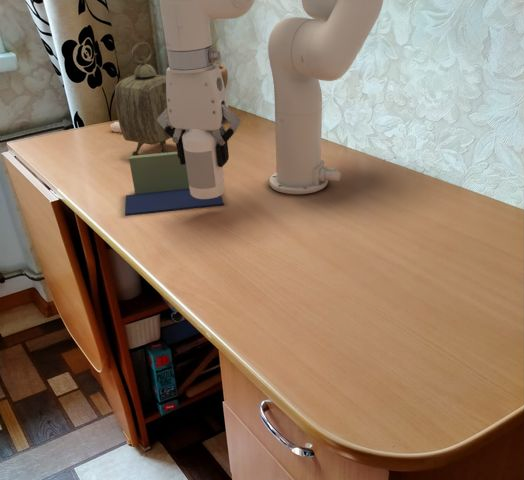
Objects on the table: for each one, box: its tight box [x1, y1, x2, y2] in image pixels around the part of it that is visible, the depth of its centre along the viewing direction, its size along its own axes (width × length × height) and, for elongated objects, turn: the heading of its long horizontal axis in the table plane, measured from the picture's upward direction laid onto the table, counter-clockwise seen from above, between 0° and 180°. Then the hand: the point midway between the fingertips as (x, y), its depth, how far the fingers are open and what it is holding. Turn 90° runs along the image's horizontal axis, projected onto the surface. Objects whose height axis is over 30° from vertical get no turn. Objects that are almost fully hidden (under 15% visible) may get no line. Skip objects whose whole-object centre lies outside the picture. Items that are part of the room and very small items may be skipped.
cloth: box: [124, 189, 224, 216], centre depth 120 cm, size 10×20×1 cm, turn 100°
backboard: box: [128, 151, 190, 194], centre depth 123 cm, size 2×16×8 cm, turn 100°
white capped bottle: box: [182, 129, 226, 199], centre depth 105 cm, size 7×7×18 cm
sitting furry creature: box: [109, 121, 122, 134], centre depth 158 cm, size 10×9×12 cm
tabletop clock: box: [114, 41, 172, 156], centre depth 137 cm, size 14×9×25 cm, turn 149°
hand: (203, 162), depth 107 cm, fingers closed on white capped bottle, 6 cm apart
